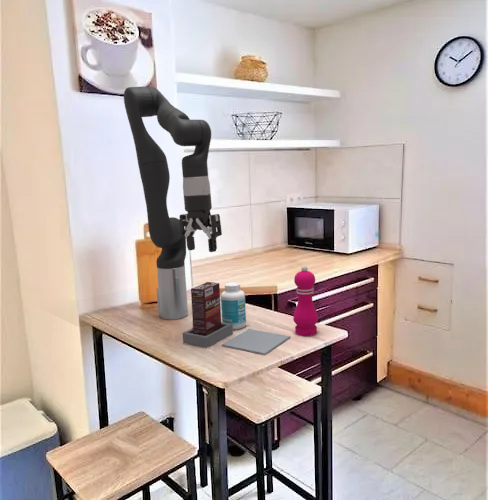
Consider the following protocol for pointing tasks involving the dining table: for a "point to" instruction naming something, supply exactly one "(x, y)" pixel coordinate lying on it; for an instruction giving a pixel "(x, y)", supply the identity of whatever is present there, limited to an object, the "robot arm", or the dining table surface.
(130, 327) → the dining table surface
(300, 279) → the pepper mill
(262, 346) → the slate mat
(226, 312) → the pill bottle
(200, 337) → the gray rectangular frame
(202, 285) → the supplement box
